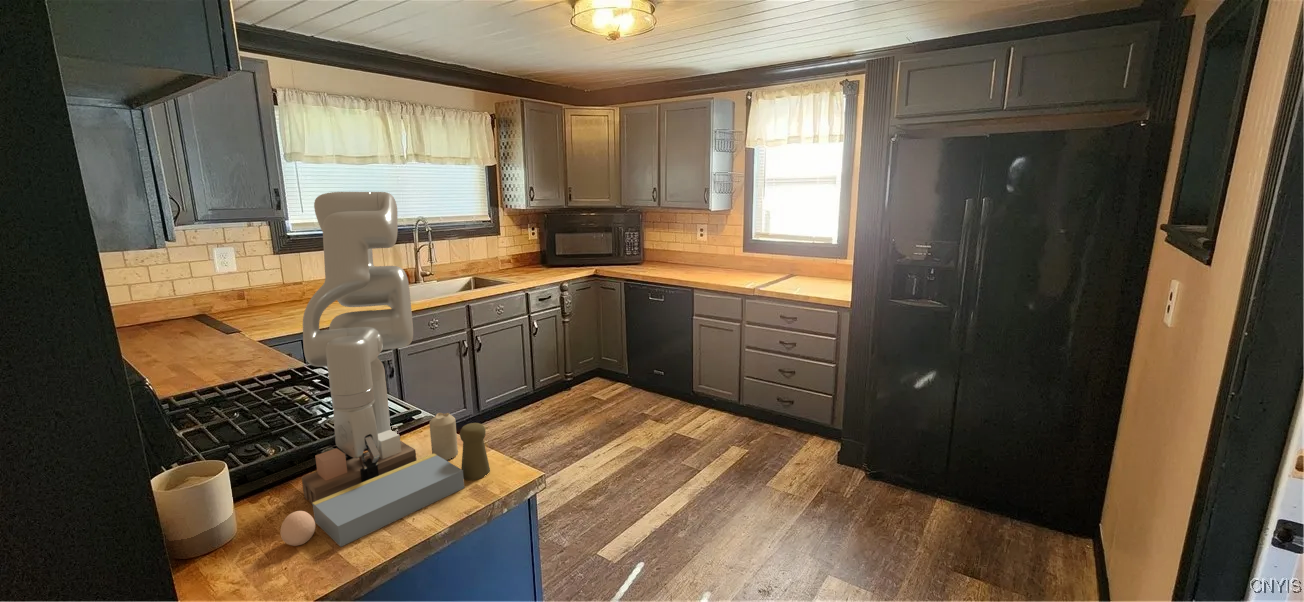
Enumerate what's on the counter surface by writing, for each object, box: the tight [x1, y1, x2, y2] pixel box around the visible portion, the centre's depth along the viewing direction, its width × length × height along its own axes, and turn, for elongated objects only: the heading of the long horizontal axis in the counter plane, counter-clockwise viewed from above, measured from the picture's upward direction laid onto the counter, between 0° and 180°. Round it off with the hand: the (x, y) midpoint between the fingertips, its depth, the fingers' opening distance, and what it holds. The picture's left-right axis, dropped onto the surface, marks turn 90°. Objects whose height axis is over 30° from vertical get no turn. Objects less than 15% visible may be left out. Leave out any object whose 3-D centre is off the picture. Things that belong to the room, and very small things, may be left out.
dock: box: [311, 453, 465, 548], centre depth 107 cm, size 11×24×4 cm, turn 141°
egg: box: [280, 510, 316, 547], centre depth 95 cm, size 5×5×6 cm
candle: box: [429, 412, 459, 461], centre depth 125 cm, size 6×6×10 cm
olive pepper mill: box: [459, 422, 491, 481], centre depth 118 cm, size 6×6×11 cm
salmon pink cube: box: [314, 447, 347, 480], centre depth 110 cm, size 4×4×4 cm
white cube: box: [378, 430, 401, 459], centre depth 118 cm, size 4×4×4 cm
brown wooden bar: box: [301, 440, 417, 506], centre depth 115 cm, size 6×20×4 cm, turn 141°
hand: (362, 477), depth 115 cm, fingers closed on brown wooden bar, 6 cm apart
